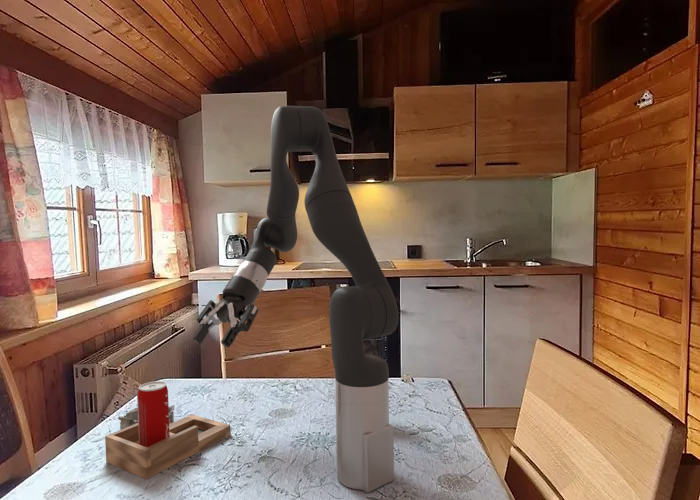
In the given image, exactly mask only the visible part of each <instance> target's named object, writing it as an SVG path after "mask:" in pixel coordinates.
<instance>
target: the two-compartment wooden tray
mask: <svg viewBox="0 0 700 500" xmlns="http://www.w3.org/2000/svg"><path fill="white" fill-rule="evenodd" d="M169 431H170V437H168V438H166V439H164V440H162V441H160V442H157V443H155V444H153V445H151V446H149V447H144V446H142V445H139V430H138V423H136V424H134V425H131V426H129V427H126V428H124V429H122V430H120V429H119V430H117V431H114V432H113V433H112V432H111V433H109V434H107V435H105V436H104V441H105V444H104V445H105V463H107V464H110V465H112V466H114V467H117V468H119V469H121V470H124V471H125V472H128V473H131V474H134V475H135V476H139V477H141V478H143V479H145V480H148V479H149V478H151V477H153V476H155V475H157V474H159V473H161V472H163V471H165V470H167V469H168V468H170V467H172V466H174V465H177V464H178V463H179V462H182V461H183V460H186V459H188V458H189V457H191V456H193V455H195V454H197V453H199V452H200V451H203V450H205V449H206V448H208V447H210V446H212V445H213V444H215V443H217V442H219V441H222V440H224V439H225V438H227V437H229V436H230V435H232V433H231V431H232V430H231V425H230V424H227V423H224V422H220V421H217V420H214V419H210V418H207V417H202V416H199V415H197V414H189V415H187V416H184V417H183V418H180V419H178V420H176V421H175V420H174V422H173V423H170V424H169Z"/></svg>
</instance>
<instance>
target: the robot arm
mask: <svg viewBox="0 0 700 500" xmlns="http://www.w3.org/2000/svg"><path fill="white" fill-rule="evenodd" d="M270 127H271V128H270V129H271V130H270V182H269V183H270V185H269V194H268V197H267V199H268V200H267V205H266V216H267V217H264V218H262V219H261V220H260V221H259V222H258V224H257V225H256V230H255V234H254V238H253V241H252V245H251V246H250V249H249V251H248V253H247V254H246V256H245V257H244V258H243V261H242V262H241V263H240V265H239V266H238V267H237V268H236V269H235V271H234V273H233V274H232V275H231V277H230V278H229V281H228V283H227V284H226V285H225V287H224V288H223V290H222V298H221V300H219V302H214V300H212V299H210V300H209V301H208V302H207V304H206V305H205V306H204V308H203V309H202V310H201V312H200V313H199V315H198V316H197V318H196V321H197V323H199V327H198V329H197V330H196V332H195V333H194V336H193V341H194V342H195V343H196V344H199V345H201V344H203V341H205V338H206V337H207V335H208V334H209V332H210V330H211V329H212V328H213V327H215V326H219V325H221V324H222V323H225V324H226V323H229V324H230V327H228V329H227V331H226V332H225V334H224V336H223V338H221V342H220V343H221V345H222V346H223V347H225V348H226V349H227V348H230V346H231V345H233V343H234V342H235V340H236V338H237V336H238V335H239V334H241V333H242V332H244V333H245V332H246V333H248V331H250V328H251V327H252V324H253V323H254V320H255V319H256V317H257V315H258V313H259V309H258V307H257V306H256V305H255V303H256V300H257V299H258V297H259V295H260V293H261V292H262V290H263V288H264V287H265V285H266V282H267V279H268V278H269V276H270V274H271V272H272V271H273V269H274V267H275V265H276V263H277V256H276V253H275V252H274V251H273V250H271V248H272V249H275V250H276V251H278V252H281V253H288V252H290V251H292V249H294V248H295V246H296V244H297V241H298V227H297V218H296V214H297V213H296V212H297V208H298V204H299V198H300V188H299V185H298V182H297V180H296V179H295V177H294V175H293V173H292V171H291V169H290V168H289V164H288V162H287V157H288V156H287V155H288V153H289V152H290V153H292V152H293V153H296V152H299V153H301V152H309V153H310V152H311V153H312V154H313V157H314V160H315V166H314V167H315V168H314V171H313V174H312V176H311V179H310V180H309V183H308V185H307V187H306V192H305V195H304V208H305V212H306V214H307V219H308V221H309V224H310V227H311V230H312V232H313V234H314V236H315V237H316V239H317V240H318V241H319V242H320V243H321V245H323V246H324V247H325V248H326V249H327V251H329V252H330V253H331V254H332V255H333V256H334V257H335V258H336V259H338V260H339V262H340V263H341V264H342V265H343V266H344V267H345V269H347V271H348V272H349V274H350V275H351V277H352V280H353V282H354V284H355V285H352V286H345V287H344V286H343V287H339V288H337V289H335V291H334V292H333V294H332V295H331V298H330V300H329V307H328V308H329V310H328V312H329V313H328V315H329V316H328V317H329V319H328V320H329V332H330V348H331V358H332V364H333V369H334V381H335V382H334V385H335V386H334V387H335V390H334V391H335V394H334V395H335V399H334V400H335V429H336V430H335V435H336V436H335V442H336V443H335V444H336V445H335V446H336V451H335V452H336V475H337V476H336V478H337V480H338V481H339V483H340V484H342V485H343V486H345V487H347V488H350V489H354V490H359V491H360V490H362V491H363V492H365V493H370V492H372V491H374V490H375V489H378V488H380V487H383V486H384V485H387V484H389V483H391V482H392V481H394V480H395V454H394V450H395V449H394V442H395V441H394V438H395V437H394V426H393V424H391V423H390V400H389V399H390V395H389V394H390V393H389V392H390V387H389V386H390V385H389V383H390V381H389V378H390V377H389V375H390V374H389V373H390V372H389V370H390V369H389V363H388V362H387V361H386V360H385V359H383V358H381V357H379V356H375V355H372V354H366V353H365V346H364V341H365V340H369V339H370V340H371V339H376V338H380V337H381V338H382V337H386V336H390V335H392V333H394V332H395V331H396V330H397V327H398V324H399V309H398V308H399V307H398V305H397V300H396V297H395V295H394V292H393V290H392V287H391V286H390V284H389V282H388V280H387V277H386V276H385V274H384V271H383V269H382V268H381V266H380V264H379V262H378V260H377V257H376V255H375V253H374V251H373V249H372V247H371V244H370V242H369V240H368V237H367V235H366V232H365V229H364V227H363V225H362V222H361V219H360V216H359V212H358V210H357V207H356V205H355V201H354V198H353V197H352V193H351V191H350V189H349V186H348V184H347V181H346V178H345V177H344V174H343V171H342V169H341V168H342V167H341V165H340V163H339V159H338V156H337V153H336V150H335V149H336V148H335V146H334V141H333V137H332V134H331V129H330V126H329V123H328V121H327V117H326V115H325V114H324V112H323V110H322V109H320V108H319V107H316V106H309V105H308V106H307V105H306V106H303V105H282V106H278V107H277V108H276V109H275V110H274V113H273V116H272V119H271V126H270ZM269 247H270V248H269ZM215 315H216V316H215ZM210 321H211V322H210ZM209 322H210V323H209Z"/></svg>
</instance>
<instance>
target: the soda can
mask: <svg viewBox="0 0 700 500" xmlns="http://www.w3.org/2000/svg"><path fill="white" fill-rule="evenodd" d="M137 390H138V391H137V394H136V397H137V398H136V401H137V408H138V430H139V445H142V446H144V447H149V446H151V445H153V444H155V443H157V442H160V441H162V440H164V439H166V438H168V437H170V431H169V407H170V406H169V404H170V403H169V390H168V387H167V382H166V381H161V380H160V381H158V380H156V381H150V382H145V383H143V384H141V385H139V386H138V389H137Z"/></svg>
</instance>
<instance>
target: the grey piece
mask: <svg viewBox="0 0 700 500" xmlns="http://www.w3.org/2000/svg"><path fill="white" fill-rule="evenodd" d="M174 411H175V404H173V405H171V406H169V424H171V423H173V422H175V416H174V414H175V412H174ZM117 419H118V420H119V421H120V422H119V425H120V426H119V430H122V429H124V428H126V427H129V426H131V425H134V424H136V423H138V407H135V408H133V409H131V410H129V411H128V412H126V413H125V415H123V416H118V418H117Z"/></svg>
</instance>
